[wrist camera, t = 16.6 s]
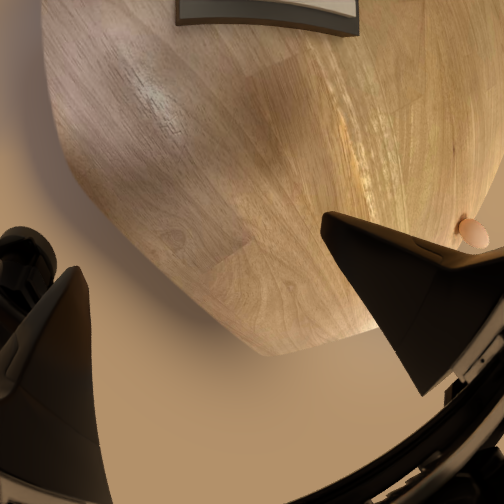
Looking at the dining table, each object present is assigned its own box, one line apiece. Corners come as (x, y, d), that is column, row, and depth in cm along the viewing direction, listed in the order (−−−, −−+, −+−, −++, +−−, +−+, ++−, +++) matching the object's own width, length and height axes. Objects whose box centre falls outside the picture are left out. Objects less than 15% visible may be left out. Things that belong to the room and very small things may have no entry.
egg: (463, 209, 39) (492, 230, 33) (468, 217, 41) (495, 237, 36) (451, 230, 41) (480, 252, 35) (457, 237, 43) (483, 257, 38)
